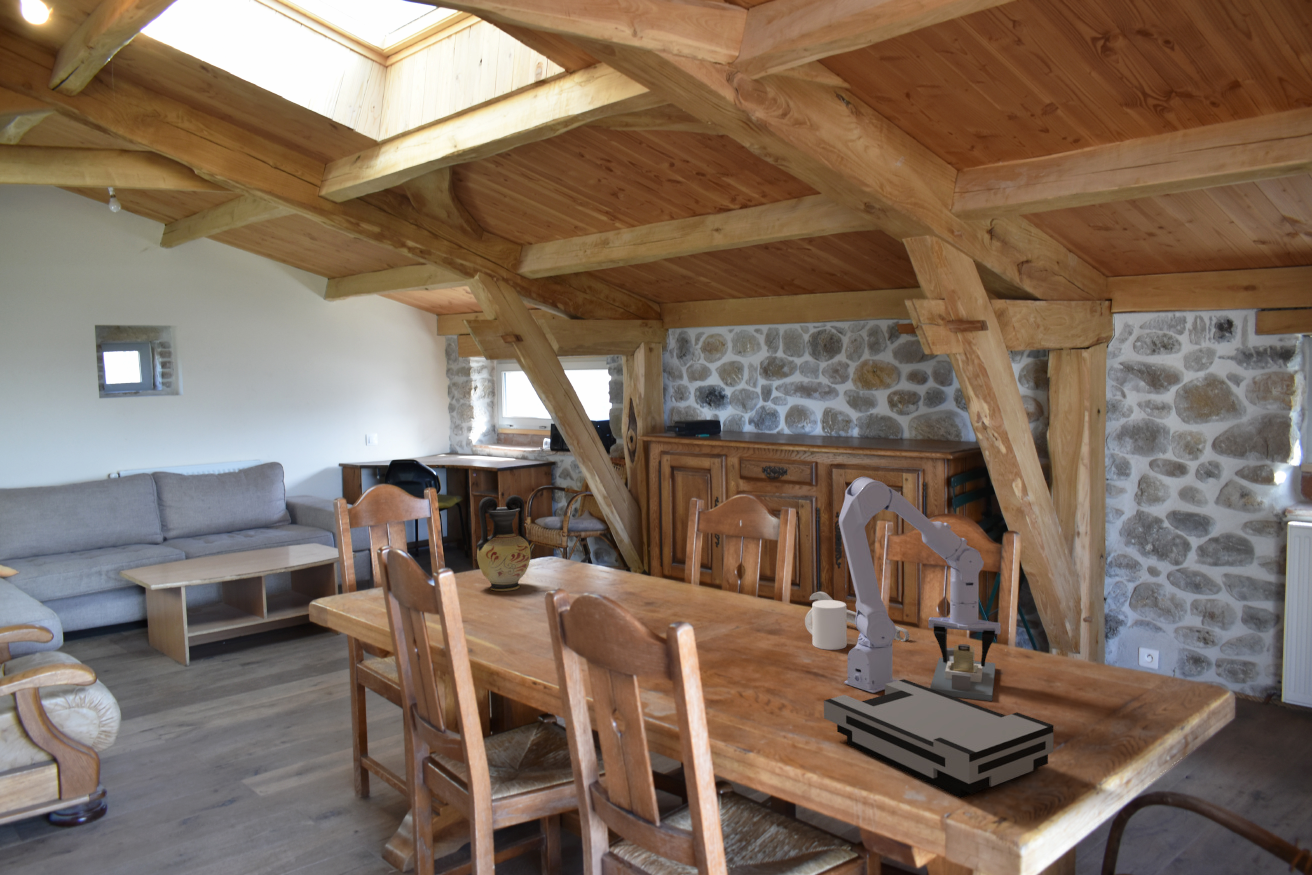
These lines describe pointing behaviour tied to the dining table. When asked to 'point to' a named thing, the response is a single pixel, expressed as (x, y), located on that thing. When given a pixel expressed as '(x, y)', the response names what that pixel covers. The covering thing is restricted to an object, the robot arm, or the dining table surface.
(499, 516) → the amphora
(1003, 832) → the dining table surface
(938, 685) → the base
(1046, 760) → the game console
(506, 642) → the dining table surface
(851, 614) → the wrench
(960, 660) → the block
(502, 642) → the dining table surface
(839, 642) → the mug
